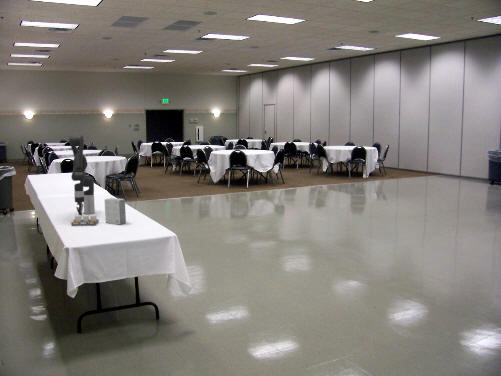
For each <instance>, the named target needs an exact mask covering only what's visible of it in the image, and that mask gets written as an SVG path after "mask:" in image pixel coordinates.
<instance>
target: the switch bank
mask: <svg viewBox="0 0 501 376" xmlns="http://www.w3.org/2000/svg"><path fill="white" fill-rule="evenodd" d="M99 222H100V219H99V218H97V220H96V221H95V222H91V220H90V218H89V221H88V222H83V219H82V221H80V222H75V219H74V220H73V221H72V222H71V223H70V224H71V227H88V226H89V227H90V226H97V225H98V224H99Z"/></svg>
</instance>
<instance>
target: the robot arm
mask: <svg viewBox="0 0 501 376" xmlns="http://www.w3.org/2000/svg"><path fill="white" fill-rule="evenodd" d="M68 141H69V142H68V143H69V144H70V145H69V146H70V148H71V151H72V154H73V157H74V158H73V160H72V161H73V167H72V168H73V169H72V173H71V180H72V181H74V182H78V183H75V184H74V186H73V187H74V194H73V196H74V202H75V203H77V204H76V212H77V213H78V215H81V217H82V218H83V215H95V213H96V212H95V211H96V208H95V178H94V177H93V176H86V174H85V171H86V169H87V168H88V159H87V156H86V155H84V145H85V142H84V141H85V139H84V136H83V135H82V134H78V135H77V134H75V135H70V136H69V137H68ZM84 188H88V189H87V190H84ZM82 212H83V213H82Z"/></svg>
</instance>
